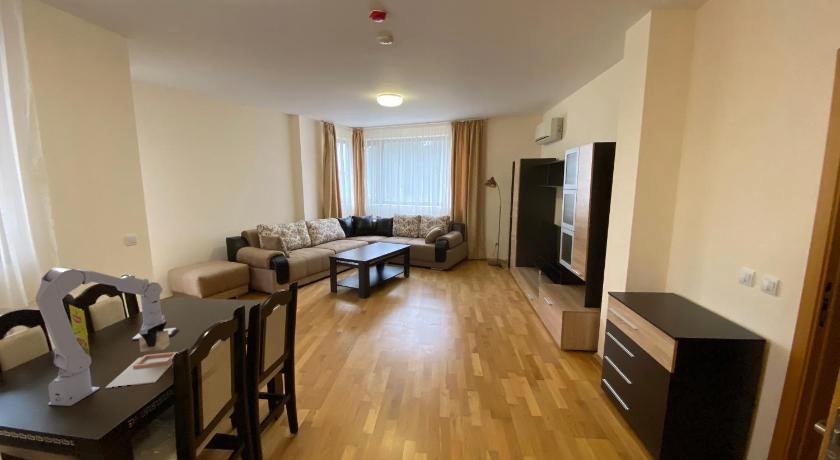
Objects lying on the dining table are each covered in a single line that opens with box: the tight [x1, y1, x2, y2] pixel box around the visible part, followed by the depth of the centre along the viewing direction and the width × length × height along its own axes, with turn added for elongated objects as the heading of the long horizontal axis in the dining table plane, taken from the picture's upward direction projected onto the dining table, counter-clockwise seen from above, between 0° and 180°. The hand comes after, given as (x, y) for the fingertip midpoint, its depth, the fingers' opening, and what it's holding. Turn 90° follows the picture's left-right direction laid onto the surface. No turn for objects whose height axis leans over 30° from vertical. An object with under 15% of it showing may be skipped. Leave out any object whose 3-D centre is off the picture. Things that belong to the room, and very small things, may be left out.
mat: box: [105, 356, 173, 389], centre depth 128 cm, size 21×15×1 cm
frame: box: [133, 351, 179, 369], centre depth 133 cm, size 12×8×1 cm
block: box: [138, 331, 170, 353], centre depth 132 cm, size 8×4×6 cm, turn 105°
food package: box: [68, 304, 91, 357], centre depth 139 cm, size 15×1×20 cm, turn 62°
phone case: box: [131, 327, 179, 342], centre depth 157 cm, size 9×2×16 cm
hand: (155, 343), depth 132 cm, fingers closed on block, 4 cm apart
